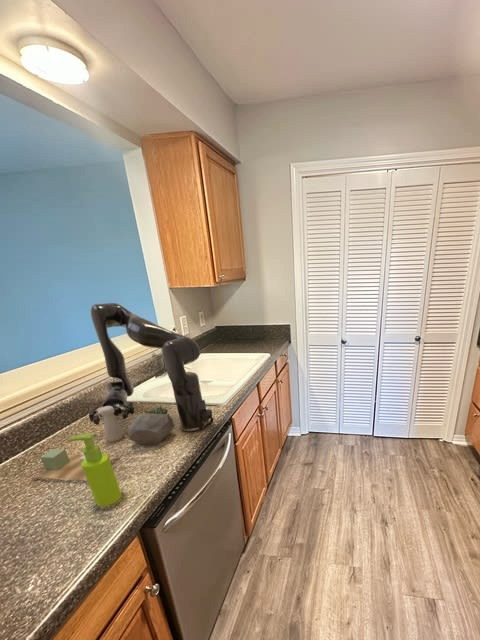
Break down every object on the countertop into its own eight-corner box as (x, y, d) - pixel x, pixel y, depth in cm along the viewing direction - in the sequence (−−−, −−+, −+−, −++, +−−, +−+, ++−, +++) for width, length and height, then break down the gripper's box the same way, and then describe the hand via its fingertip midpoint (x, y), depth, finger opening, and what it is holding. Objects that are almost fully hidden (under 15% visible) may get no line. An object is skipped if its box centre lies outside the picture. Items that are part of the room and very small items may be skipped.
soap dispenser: (99, 495, 88) (75, 430, 79) (125, 493, 88) (104, 428, 80) (88, 510, 82) (61, 443, 74) (116, 508, 83) (92, 440, 75)
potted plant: (120, 441, 107) (136, 411, 119) (157, 456, 113) (169, 426, 124) (134, 420, 101) (149, 391, 113) (172, 437, 107) (183, 407, 118)
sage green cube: (70, 461, 102) (65, 449, 100) (58, 470, 98) (53, 457, 96) (57, 461, 103) (52, 448, 101) (45, 469, 98) (40, 457, 97)
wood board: (116, 459, 104) (115, 456, 103) (89, 482, 93) (88, 479, 93) (67, 456, 106) (66, 454, 106) (35, 479, 96) (33, 477, 95)
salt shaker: (117, 445, 112) (106, 411, 106) (103, 444, 113) (92, 410, 108) (128, 436, 117) (119, 404, 112) (115, 435, 118) (105, 403, 113)
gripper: (91, 397, 122) (83, 414, 108) (133, 390, 127) (129, 405, 113) (97, 415, 125) (90, 433, 111) (137, 407, 130) (135, 424, 116)
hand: (110, 419), depth 112 cm, fingers open, 8 cm apart
